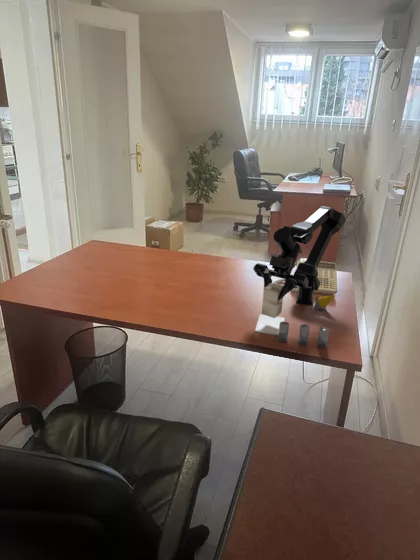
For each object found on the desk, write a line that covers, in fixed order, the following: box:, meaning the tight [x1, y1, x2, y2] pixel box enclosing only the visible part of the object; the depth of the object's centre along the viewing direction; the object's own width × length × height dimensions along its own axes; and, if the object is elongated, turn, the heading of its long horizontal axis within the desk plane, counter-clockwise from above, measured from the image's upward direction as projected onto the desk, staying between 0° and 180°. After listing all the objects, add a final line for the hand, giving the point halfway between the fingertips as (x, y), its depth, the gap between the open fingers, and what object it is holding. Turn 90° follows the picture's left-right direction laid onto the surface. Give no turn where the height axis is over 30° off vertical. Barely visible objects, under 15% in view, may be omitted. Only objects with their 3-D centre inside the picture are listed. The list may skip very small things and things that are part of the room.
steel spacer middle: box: [297, 323, 311, 346], centre depth 128 cm, size 3×3×6 cm
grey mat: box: [254, 313, 286, 336], centre depth 139 cm, size 12×9×1 cm
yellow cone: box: [313, 294, 336, 311], centre depth 151 cm, size 5×5×10 cm
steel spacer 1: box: [277, 321, 290, 343], centre depth 129 cm, size 3×3×6 cm
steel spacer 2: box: [316, 326, 330, 349], centre depth 127 cm, size 3×3×6 cm
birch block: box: [261, 282, 284, 318], centre depth 135 cm, size 5×5×10 cm
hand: (271, 297), depth 134 cm, fingers closed on birch block, 5 cm apart
